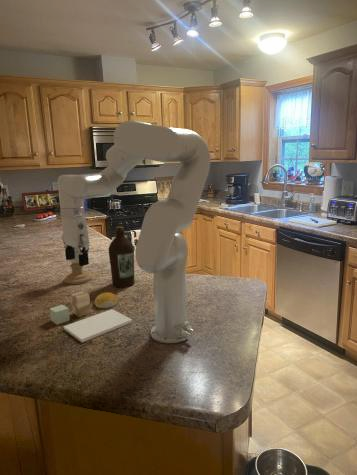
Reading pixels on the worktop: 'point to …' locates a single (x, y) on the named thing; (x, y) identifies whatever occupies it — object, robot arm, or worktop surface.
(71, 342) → the worktop surface
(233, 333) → the worktop surface
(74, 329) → the ceramic tile
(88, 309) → the maple block
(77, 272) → the candle holder
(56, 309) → the sage cube
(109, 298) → the bread roll
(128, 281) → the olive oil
